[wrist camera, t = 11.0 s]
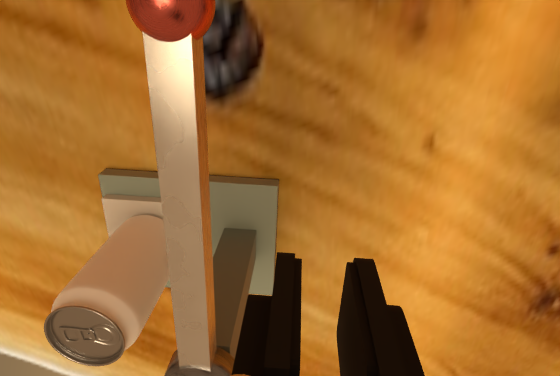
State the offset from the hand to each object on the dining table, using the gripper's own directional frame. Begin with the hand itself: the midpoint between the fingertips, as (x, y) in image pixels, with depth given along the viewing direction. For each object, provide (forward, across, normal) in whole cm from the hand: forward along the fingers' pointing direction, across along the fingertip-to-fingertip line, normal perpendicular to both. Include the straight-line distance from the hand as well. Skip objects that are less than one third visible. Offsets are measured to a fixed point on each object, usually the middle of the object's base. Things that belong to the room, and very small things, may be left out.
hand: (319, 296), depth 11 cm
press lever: (+8, +6, +3) cm, 10 cm away
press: (+23, +11, +13) cm, 29 cm away
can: (+21, +15, +13) cm, 29 cm away
